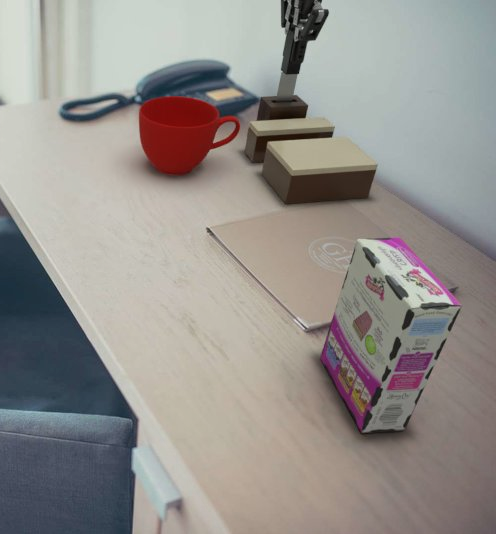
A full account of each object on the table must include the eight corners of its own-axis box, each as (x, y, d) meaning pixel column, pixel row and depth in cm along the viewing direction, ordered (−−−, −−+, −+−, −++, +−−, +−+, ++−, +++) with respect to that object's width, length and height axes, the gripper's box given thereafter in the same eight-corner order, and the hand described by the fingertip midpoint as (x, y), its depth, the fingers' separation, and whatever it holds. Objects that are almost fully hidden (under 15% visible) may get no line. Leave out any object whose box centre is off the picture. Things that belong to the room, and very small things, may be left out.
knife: (286, 109, 117) (303, 28, 109) (292, 115, 116) (309, 32, 107) (271, 110, 117) (286, 29, 108) (276, 115, 115) (292, 33, 107)
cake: (338, 168, 110) (347, 136, 107) (368, 197, 102) (378, 164, 99) (261, 174, 108) (267, 141, 105) (285, 204, 100) (292, 170, 97)
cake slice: (317, 147, 117) (324, 116, 113) (327, 157, 114) (335, 126, 110) (244, 152, 115) (249, 121, 111) (252, 162, 112) (258, 130, 108)
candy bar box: (408, 431, 64) (466, 306, 55) (361, 435, 64) (411, 309, 54) (359, 354, 73) (402, 234, 64) (317, 356, 73) (354, 236, 63)
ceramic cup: (242, 183, 105) (252, 126, 100) (140, 185, 104) (144, 128, 98) (225, 148, 116) (233, 95, 110) (131, 150, 115) (134, 96, 109)
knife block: (288, 132, 122) (296, 94, 118) (299, 144, 118) (308, 105, 114) (253, 134, 121) (260, 96, 116) (263, 146, 117) (271, 107, 112)
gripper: (358, -42, 95) (331, 73, 106) (317, -59, 106) (295, 46, 117) (311, -41, 94) (288, 75, 105) (274, -58, 105) (256, 48, 116)
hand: (292, 59), depth 111 cm, fingers closed on knife, 2 cm apart
